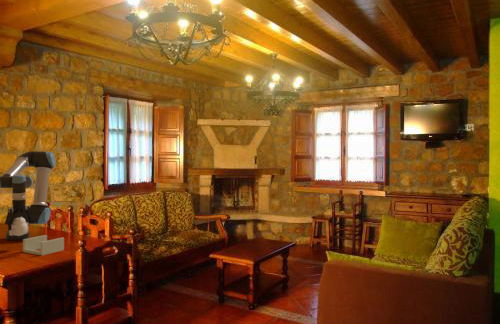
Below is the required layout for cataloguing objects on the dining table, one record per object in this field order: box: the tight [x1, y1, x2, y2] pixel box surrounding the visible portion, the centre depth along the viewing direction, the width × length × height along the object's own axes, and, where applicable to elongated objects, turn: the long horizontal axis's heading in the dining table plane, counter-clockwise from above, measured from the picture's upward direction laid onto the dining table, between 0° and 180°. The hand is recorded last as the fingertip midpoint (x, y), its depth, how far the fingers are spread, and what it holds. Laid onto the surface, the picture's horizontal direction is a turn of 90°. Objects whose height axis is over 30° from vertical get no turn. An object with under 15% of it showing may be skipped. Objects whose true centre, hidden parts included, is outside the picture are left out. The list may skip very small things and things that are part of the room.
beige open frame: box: [22, 234, 65, 256], centre depth 260 cm, size 17×16×8 cm
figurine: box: [11, 216, 29, 236], centre depth 263 cm, size 10×10×12 cm
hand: (18, 233), depth 263 cm, fingers closed on figurine, 10 cm apart
